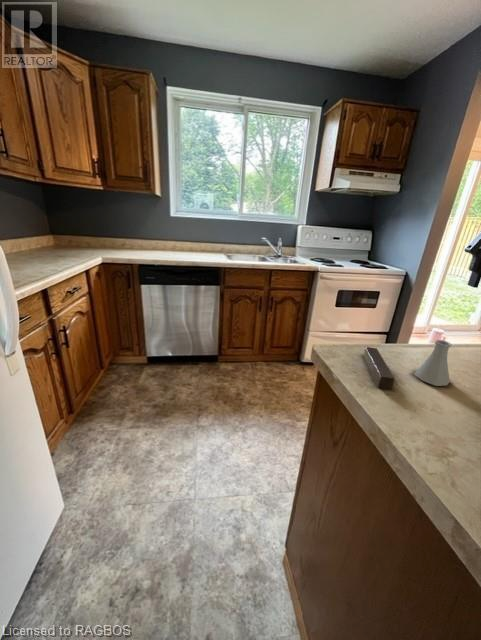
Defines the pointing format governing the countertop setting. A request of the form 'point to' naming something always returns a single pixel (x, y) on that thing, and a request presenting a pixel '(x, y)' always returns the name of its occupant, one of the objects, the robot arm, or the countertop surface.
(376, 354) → the rail
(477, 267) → the robot arm
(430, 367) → the flask
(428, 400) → the countertop surface
